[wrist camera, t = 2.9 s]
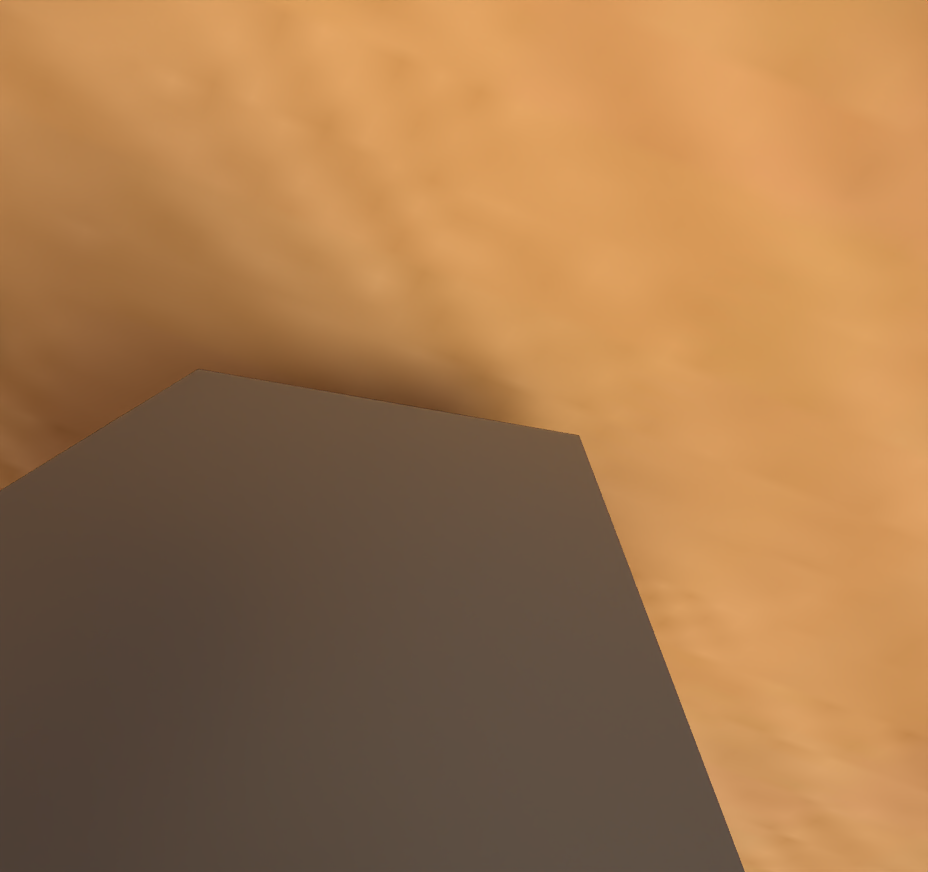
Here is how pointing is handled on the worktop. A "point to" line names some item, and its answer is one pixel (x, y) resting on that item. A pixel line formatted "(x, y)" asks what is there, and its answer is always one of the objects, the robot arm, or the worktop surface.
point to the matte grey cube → (332, 651)
